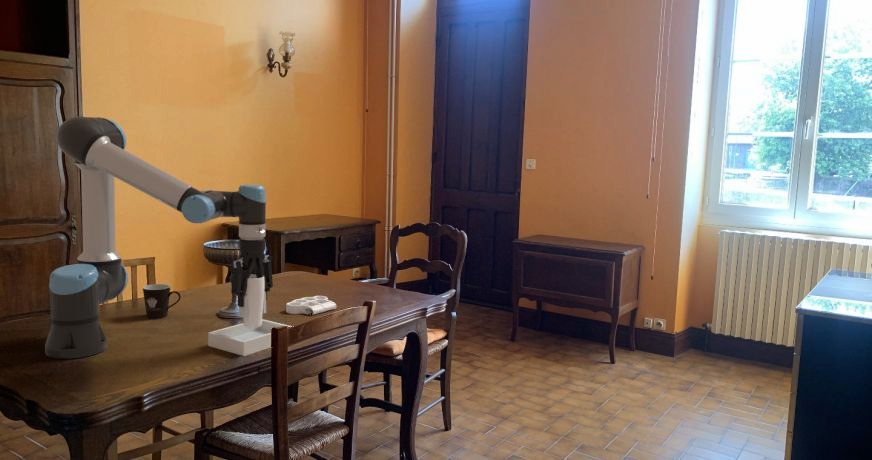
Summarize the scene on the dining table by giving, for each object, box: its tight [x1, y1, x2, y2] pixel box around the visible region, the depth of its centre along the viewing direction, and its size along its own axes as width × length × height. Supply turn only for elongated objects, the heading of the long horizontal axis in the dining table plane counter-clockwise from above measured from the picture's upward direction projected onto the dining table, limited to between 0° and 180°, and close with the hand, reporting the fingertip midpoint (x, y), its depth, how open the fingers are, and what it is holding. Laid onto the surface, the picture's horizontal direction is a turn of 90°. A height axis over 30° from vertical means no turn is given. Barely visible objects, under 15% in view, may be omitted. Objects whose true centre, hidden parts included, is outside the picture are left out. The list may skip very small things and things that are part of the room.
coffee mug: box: [142, 283, 182, 320], centre depth 223 cm, size 12×9×10 cm
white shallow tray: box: [207, 318, 292, 357], centre depth 199 cm, size 20×15×4 cm
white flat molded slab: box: [285, 295, 337, 316], centre depth 241 cm, size 3×18×15 cm
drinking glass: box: [242, 273, 265, 328], centre depth 198 cm, size 7×7×15 cm
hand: (252, 314), depth 198 cm, fingers closed on drinking glass, 7 cm apart
